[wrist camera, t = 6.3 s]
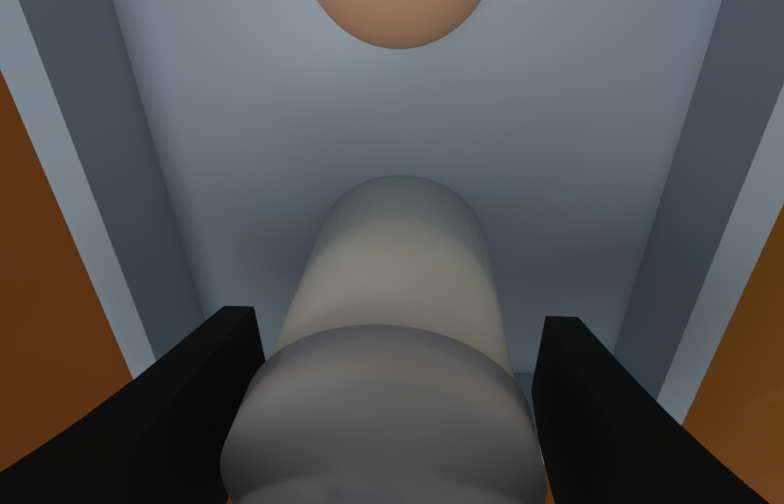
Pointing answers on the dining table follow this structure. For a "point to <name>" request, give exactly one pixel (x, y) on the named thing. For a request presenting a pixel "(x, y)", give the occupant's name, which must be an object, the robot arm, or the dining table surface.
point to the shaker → (389, 368)
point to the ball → (399, 20)
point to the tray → (415, 157)
